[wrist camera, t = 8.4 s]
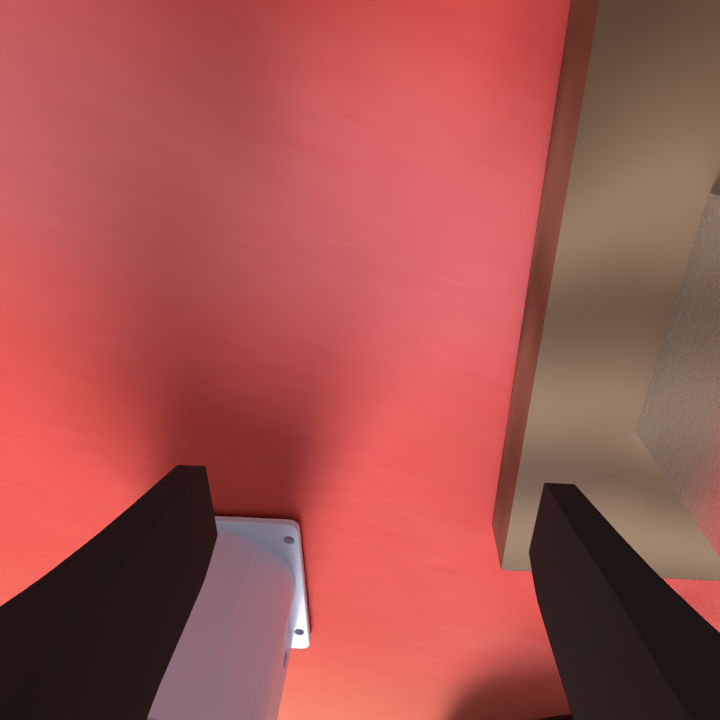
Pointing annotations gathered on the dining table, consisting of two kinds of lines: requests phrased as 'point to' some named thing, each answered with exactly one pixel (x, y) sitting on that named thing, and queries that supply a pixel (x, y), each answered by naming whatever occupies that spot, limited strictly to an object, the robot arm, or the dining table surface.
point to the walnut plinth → (613, 273)
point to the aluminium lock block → (691, 385)
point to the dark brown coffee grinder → (561, 718)
